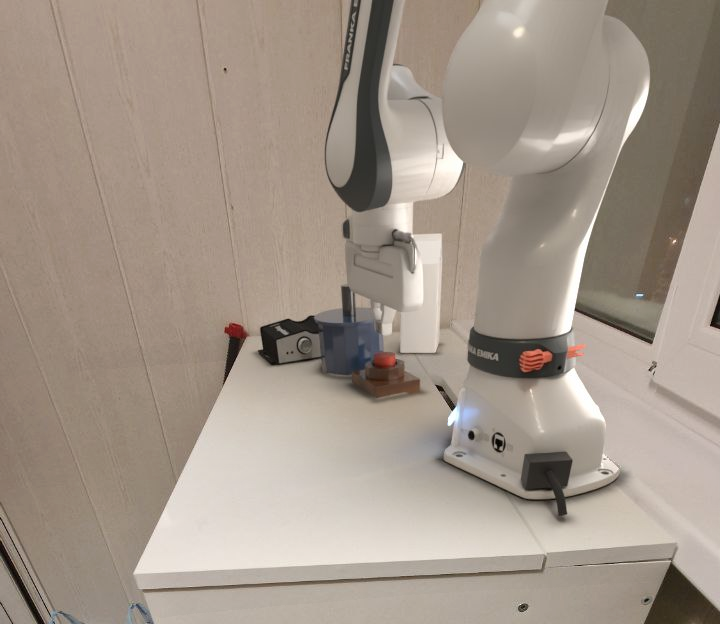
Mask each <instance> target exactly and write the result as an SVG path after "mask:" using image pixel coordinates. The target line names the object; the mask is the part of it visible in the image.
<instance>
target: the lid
mask: <svg viewBox="0 0 720 624" xmlns="http://www.w3.org/2000/svg"><path fill="white" fill-rule="evenodd" d="M340 296H341V308H335V309H334V308H333V309H328V310H323V311H321V312H319V313H317V314H315V317H314V320H315V322H316V323H318V324H321V325H327V326H356V325H364V324H370V323H374V318H373V314H372V310H371V307H364V306H363V307H362V306H361V307H360V306H358V307H356V306H357V305H356V304H357V303H356V293H354V292H351V290H350V288H349V285H348V283H345V284H341V285H340Z"/></svg>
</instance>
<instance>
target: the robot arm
mask: <svg viewBox="0 0 720 624" xmlns="http://www.w3.org/2000/svg"><path fill="white" fill-rule="evenodd" d="M405 3H406V0H350V5H349V13H348V19H347V26H346V32H345V33H346V34H345V40H344V41H345V42H344V47H343V53H342V60H341V68H340V74H339V80H338V81H339V82H338V87H337V92H336V97H335V100H334V104H333V109H332V112H331V116H330V119H329V123H328V128H327V132H326V135H325V144H324V165H325V171H326V177H327V179H328V181H329V183H330V185H331V187H332V189H333V190H334V192H335V193H336V195H337V196H338V197H339V198H340V200H341V201H342V202H343V203H344V204H345V205H346V206H347V207H348V208H350V209H351V212H350V213H349V215H348V216H347V217H346V218H345V219H343V220H342V222H341V225H340V227H341V228H340V229H341V231H340V232H341V237H342V239H343V240H345V243H344V259H345V260H344V261H345V272H346V280H347V284H348V285H349V288H350V290H351V292H354V293H355V295H359V296H361V297H364V298H366V299H368V300H369V302H370V303H369V304H370V307H369V308H371V310H372V314H373V318H374V326H375V331H376V332H378V333H380V334H382V335H383V337H385V336H390V335H392V333H393V322H394V320H395V316H396V313H397V312H399V313H400V312H410V311H416V310H419V309H420V308H421V305H422V303H423V267H422V257H421V253H420V251H419V249H418V248H417V244H415V241H414V239H413V238H414V237H413V234H414V203H417V202H419V201H429V200H430V201H431V200H435V199H440V198H442V197H444V196H447V195H449V194H451V193H452V192H453V191H454V190H455V188H456V187H457V185H458V184H459V182H460V180H461V178H462V176H463V173H464V171H465V168H466V165H468V166H470V167H472V168H474V169H477V170H479V171H481V172H484V173H486V174H489V175H493V176H495V177H502V178H509V177H510V180H509V183H508V187H507V191H506V194H505V197H504V201H503V203H502V206H501V209H500V211H499V214H498V216H497V219H496V221H495V223H494V225H493V227H492V228H491V230H490V231H489V232H488V234H487V235H486V237H485V239H484V241H483V243H482V246H481V248H480V252H479V255H478V267H477V279H476V280H477V281H476V293H475V304H474V305H475V306H474V317H473V320H474V321H473V326H472V327H471V328H470V330H469V334H468V335H469V337H468V340H467V346H466V347H467V357H466V360H467V363H468V364H469V368H468V371H467V374H466V377H465V379H464V381H463V383H462V385H461V387H460V389H459V391H458V395H457V401H456V407H455V408H454V409H453V410H452V411H451V413H450V415H449V416H448V417H447V418H448V419H447V421H448V422H447V426H451V425H452V424H453V429H452V435H451V442H450V444H449V446H447V447H446V448H445V449H444V452H443V457H442V460H443V461H444V462H446V463H447V464H450V465H452V466H455V467H457V468H458V469H460V470H463V471H465V472H467V473H469V474H471V475H472V476H473V475H474V476H475V477H478V478H480V479H481V480H484V481H486V482H489V483H490V484H493V485H494V486H497V487H499V488H501V489H502V490H506V491H507V492H509V493H512V494H514V495H516V496H519V497H521V498H523V499H527V500H551V499H553V500H554V499H555V502H556V508H557V515H558V517H563V516H567V515H568V510H567V502H566V498H567V497H572V496H576V495H580V494H584V493H588V492H591V491H594V490H597V489H600V488H602V487H605V486H607V485H609V484H611V483H612V482H614V481H615V480H617V478H618V477H619V476H620V474H621V466H620V469H619V468H618V467H617V466H616V465H615V464H614V463H613V462H612V461H610V460H609V458H610V457H609V458H607V456H608V455H606V454H605V453H604V449H605V444H606V442H605V441H606V431H607V430H606V429H607V427H606V420H605V418H604V416H603V415H602V413H601V412H600V410H601V409H600V407H599V405H598V404H596V403H595V401H594V400H593V399H592V397H591V395H590V393H589V391H588V390H587V389H586V387H585V385H584V383H583V381H582V380H581V379H580V376H579V375H578V373H577V371H576V369H575V367H576V366H577V358H578V357H582V356H584V355H585V353H584V352H577V351H581V350H583V349H584V348H586V347H587V346H586V344H578V345H576V338H575V337H576V336H575V329H574V328H573V326H572V325H573V319H574V313H575V308H576V304H577V297H578V293H579V287H580V283H581V277H582V271H583V266H584V261H585V257H586V252H587V248H588V244H589V241H590V239H591V238H590V237H591V234H592V231H593V228H594V225H595V221H596V219H597V216H598V213H599V211H600V208H601V205H602V202H603V199H604V197H605V194H606V191H607V188H608V185H609V182H610V180H611V177H612V174H613V171H614V169H615V166H616V163H617V161H618V158H619V155H620V153H621V151H622V148H623V147H624V144H625V143H626V142H627V139H628V138H629V136H630V135H631V133H632V132H633V131H634V130H635V128H636V126H637V124H638V122H639V120H640V119H641V116H642V114H643V112H644V109H645V106H646V103H647V99H648V95H649V90H650V84H651V83H650V82H651V69H650V67H651V66H650V61H649V57H648V54H647V51H646V49H645V47H644V46H643V44H642V43H641V42H640V40H639V38H638V37H637V36H636V35H635V33H634V32H633V30H631V29H630V28H629V27H628V25H626V23H624V22H623V21H622V20H620V19H619V18H617V17H614V16H611V15H606V14H605V13H606V10H607V6H608V3H609V0H483V1H482V3H481V5H480V6H479V9H478V11H477V13H476V14H475V16H474V17H473V19H472V21H471V22H470V24H468V26H467V27H466V29H465V30H464V31H463V32H462V34H461V35H460V37H459V39H458V40H457V42H456V44H455V46H454V48H453V50H452V52H451V55H450V57H449V59H448V63H447V66H446V70H445V72H444V78H443V84H442V91H441V98H440V97H438V96H436V95H434V94H432V93H430V92H428V91H427V90H426V89H424V88H423V87H422V86H421V85H419V83H418V82H417V81H416V79H415V77H414V74H413V72H412V71H411V69H410V68H408V67H407V66H406V65H403V64H401V63H400V64H399V63H394V59H395V55H396V49H397V44H398V39H399V34H400V29H401V25H402V18H403V14H404V9H405ZM410 242H412V243H410ZM605 455H606V456H605Z"/></svg>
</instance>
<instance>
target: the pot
mask: <svg viewBox="0 0 720 624" xmlns="http://www.w3.org/2000/svg"><path fill="white" fill-rule="evenodd" d="M318 328H319V339H320V351H321V358H320V360H321V362H320V363H321V370H322V373H323V374H332V375H337V376H338V375H339V376H352V372H353V371H359V370H364V369H365V364H366V362H369V361H371V360H374V354H376V353H379V352H385V349H384V345H385V343H384V335H382V334H380V333H378V332H376V331H375V326H374V323H370V324H364V325H356V326H327V325H321V324H318Z"/></svg>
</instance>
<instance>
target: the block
mask: <svg viewBox="0 0 720 624" xmlns="http://www.w3.org/2000/svg"><path fill="white" fill-rule="evenodd" d="M405 364H406V363H405V361H404V360H402V359H399V358H396V365H395V366H391V367H375V366H374V360H371V361H369V362H366V364H365V369H364V370H359V371H353V372H352V375H351V379H352V380H351V381H352V383H353V384H355V385H356V386H357V387H359V388H361V389H362V390H364V391H366V392H367V393H368V394H370V395H372V396H373V397H375V398H382V397H388V396H394V395H397V394H402V393H406V394H408V395H412V394H418V393H421V389H420V388H421V378H420V377H417V376H416V375H414V374H412V373H410V372H408V371H406V370H405V366H406V365H405Z"/></svg>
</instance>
